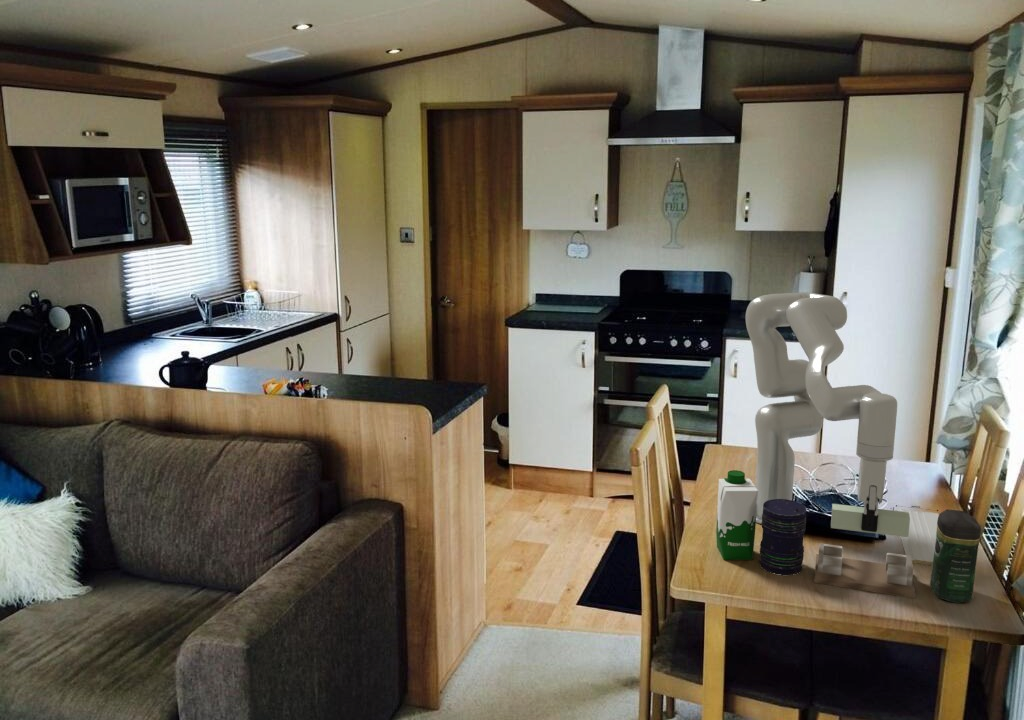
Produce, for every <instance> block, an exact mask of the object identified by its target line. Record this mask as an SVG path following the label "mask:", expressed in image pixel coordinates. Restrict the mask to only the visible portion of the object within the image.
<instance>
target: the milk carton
mask: <svg viewBox="0 0 1024 720" xmlns="http://www.w3.org/2000/svg"><path fill="white" fill-rule="evenodd" d="M745 476H746V474H745V472H744V471H742V470H735V469H732V470H729V471H727V477H724V478H718V490H717V491H718V492H717V493H718V494H717V508H716V510H717V512H716V513H717V514H716V528H715V529H716V531H715V532H716V548H717V549H718V552H719V553H720V555H721V557H722V560H724V561H738V560H740V561H745V560H747V561H748V560H751V561H753V556H754V550H755V549H754V547H755V540H756V539H755V538H756V537H755V536H756V524H757V522H756V510H757V496H758V490H757V489H756V486H755V485H756V484H754V482H753V481H752V480H751V478H745Z"/></svg>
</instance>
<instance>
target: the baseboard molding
mask: <svg viewBox="0 0 1024 720" xmlns="http://www.w3.org/2000/svg"><path fill="white" fill-rule="evenodd" d="M895 507H898V505H897V504H896V505H895ZM895 507H893V508H892V507H890V509H889V510H893V511H901V512H909V516H910V524H909V535H908V537H901V536H900V538H901V542H902V546H903V550H904V555H908V556H911V560H912V564H913V563H914V564H918V565H919V564H921V565H929V566H933V558H934V551H935V543H936V532H937V521H938V516H939V514H940V513H938V512H939V509H936V510H935V511H936V512H931V511H928V510H930V509H928V508H926V510H927V511H919V510H922V508H921V506H919V505H918V506H917V505H911V507H910V506H909V508H911V509H913V508H915V509H919V510H911V509H904V508H901V509H898V510H895ZM900 507H904V506H903V505H902V506H901V505H900Z"/></svg>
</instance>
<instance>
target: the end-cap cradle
mask: <svg viewBox="0 0 1024 720" xmlns="http://www.w3.org/2000/svg"><path fill="white" fill-rule="evenodd" d="M842 555H843V546H842V545H834V544H827V543H819V546H818V554H817V553H816V555H815V566H814V567H815V568H814V582H815V583H814V584H819V583H820V585H826V584H828V585H827V586H832V585H834V587H839V588H848V589H853V590H857V591H858V590H859V591H867V592H872V593H878V594H884V595H885V594H886V595H892V596H897V595H898V596H899V597H904V596H906V597H905V598H910V597H913V599H914V598H915V585H914V579H913V576H914V575H913V573H914V567H913V563H912V560H911V556H908V555H905V554H899V553H892V552H887V553H886V559H885V563H883V562H882V563H881V562H875V561H869V560H868V561H867V560H859V559H854V558H847V557H846V558H845V557H842ZM898 596H897V597H898Z"/></svg>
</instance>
